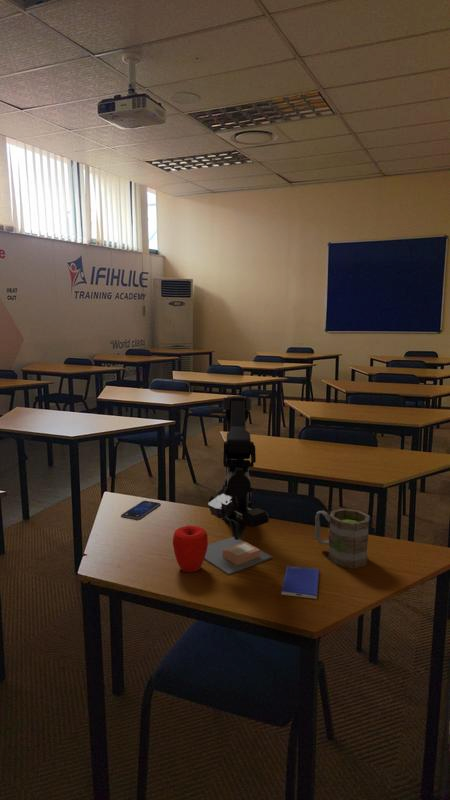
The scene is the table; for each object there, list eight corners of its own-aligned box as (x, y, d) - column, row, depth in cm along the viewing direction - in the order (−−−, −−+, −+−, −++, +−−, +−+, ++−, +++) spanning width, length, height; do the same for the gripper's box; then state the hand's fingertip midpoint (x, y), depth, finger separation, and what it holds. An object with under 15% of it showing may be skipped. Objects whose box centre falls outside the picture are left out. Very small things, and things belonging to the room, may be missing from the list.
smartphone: (119, 515, 162) (143, 500, 176) (119, 518, 162) (143, 502, 176) (139, 518, 160) (162, 502, 173) (139, 521, 160) (162, 505, 173)
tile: (245, 541, 139) (260, 549, 135) (245, 548, 140) (259, 556, 135) (222, 549, 135) (236, 557, 130) (222, 556, 135) (236, 565, 130)
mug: (375, 558, 136) (378, 515, 134) (356, 572, 128) (358, 527, 126) (324, 540, 146) (326, 501, 144) (303, 553, 138) (305, 511, 136)
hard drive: (286, 565, 129) (281, 590, 117) (319, 568, 128) (317, 594, 116) (286, 571, 130) (281, 596, 118) (319, 574, 128) (316, 601, 116)
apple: (201, 557, 135) (202, 519, 133) (212, 573, 127) (212, 532, 125) (169, 563, 132) (169, 523, 130) (178, 579, 124) (177, 537, 122)
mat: (234, 537, 148) (234, 536, 148) (272, 557, 135) (272, 556, 135) (192, 551, 139) (192, 550, 139) (228, 574, 126) (228, 573, 126)
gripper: (192, 480, 136) (192, 535, 138) (236, 500, 121) (236, 560, 124) (225, 472, 143) (224, 525, 145) (270, 490, 128) (269, 548, 131)
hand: (237, 539), depth 136 cm, fingers closed
